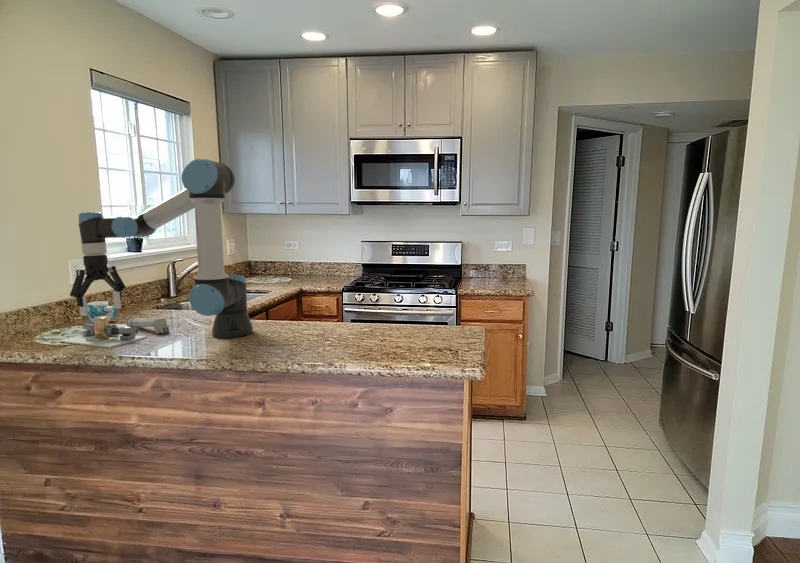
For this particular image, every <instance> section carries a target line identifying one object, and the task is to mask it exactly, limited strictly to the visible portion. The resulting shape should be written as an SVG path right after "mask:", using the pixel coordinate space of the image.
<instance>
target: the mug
mask: <svg viewBox="0 0 800 563" xmlns="http://www.w3.org/2000/svg"><path fill="white" fill-rule="evenodd" d="M86 305H87V313H88V315H87V318H88V320H87V321H88V323H90V324H94V320H93V318H95V317H102V316H107V317H108V318H109V321H110V319H116V318H118V309H116V308H115V307H114V306H112V305H111V306H109V301H103V300H102V301H92V302H88V303H86Z"/></svg>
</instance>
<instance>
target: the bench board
mask: <svg viewBox="0 0 800 563" xmlns="http://www.w3.org/2000/svg"><path fill="white" fill-rule="evenodd" d="M120 336H122V335H116V336H115V337H110V338H109V339H106V340H101V339H99V338H95V335H94V336H88V337H86V336H83V334H80V335H78V336H72V337H69V338H65V339H61V340H59V341H58V342H59V343H61V342H65V343H64V344H70V343H72V344H71V345H78V344H79V345H80V346H87V347H88V346H89V347H94V348H95V347H97V348H104V349H111V348H116V347H120V346H123V345H126V344H129V343H134V342H136V341H140V340H144V339H147V337H146V336H143V335H135V338H133V339H131V340H128V341H123V340H120Z"/></svg>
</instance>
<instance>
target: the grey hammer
mask: <svg viewBox="0 0 800 563" xmlns="http://www.w3.org/2000/svg"><path fill="white" fill-rule="evenodd" d="M126 327H137V328H138V329H139V328H153V329H154V333H155V334H156V335H157V334H158V335H159V334H160V333H161V334H166V333H169V332H170V324H168V323H167V319H166V317H161V318H142V317H141V318H139V317H137V316H136V317H132V318H128V319H127V321H126Z"/></svg>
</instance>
